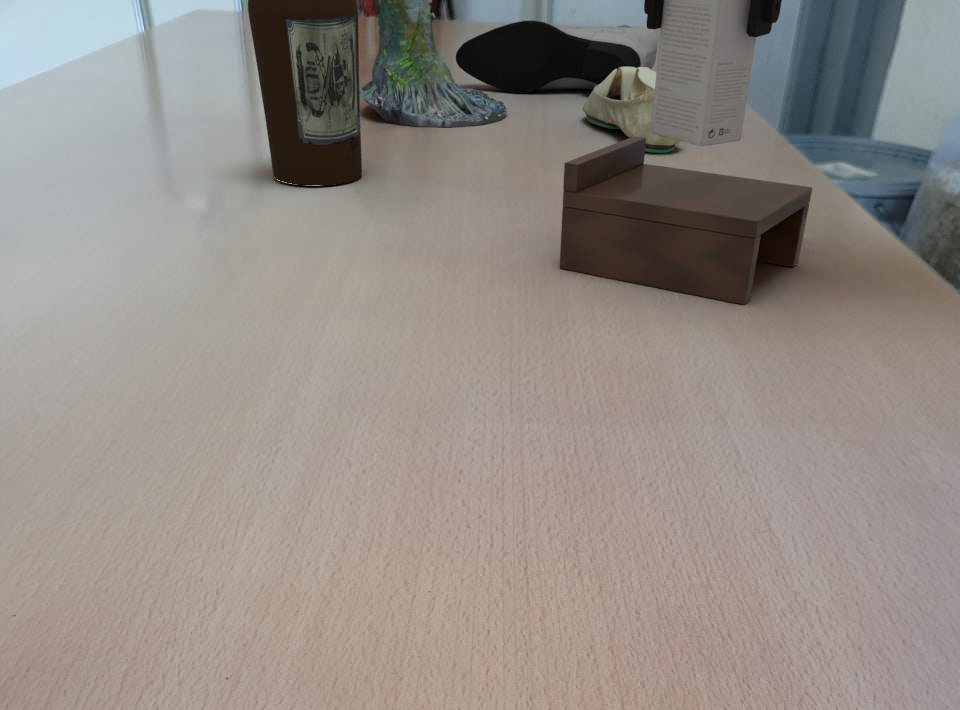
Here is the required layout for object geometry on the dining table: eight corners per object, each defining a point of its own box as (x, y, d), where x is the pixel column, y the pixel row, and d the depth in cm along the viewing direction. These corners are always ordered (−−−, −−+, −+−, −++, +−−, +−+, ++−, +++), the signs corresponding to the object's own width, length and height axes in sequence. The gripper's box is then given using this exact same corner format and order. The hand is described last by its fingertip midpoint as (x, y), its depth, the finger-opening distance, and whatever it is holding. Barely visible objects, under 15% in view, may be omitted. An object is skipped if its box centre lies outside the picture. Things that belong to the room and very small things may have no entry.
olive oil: (252, 173, 108) (215, -117, 93) (339, 161, 113) (318, -117, 97) (294, 194, 101) (261, -117, 86) (386, 180, 106) (370, -117, 90)
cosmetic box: (742, 142, 75) (772, -51, 68) (700, 148, 74) (725, -49, 66) (689, 128, 80) (711, -55, 72) (647, 133, 78) (666, -54, 70)
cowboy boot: (640, 36, 139) (672, 19, 158) (455, 10, 144) (507, -3, 163) (628, 112, 145) (661, 87, 163) (451, 83, 150) (502, 63, 169)
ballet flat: (627, 114, 135) (632, 49, 131) (707, 153, 117) (716, 78, 112) (569, 117, 134) (572, 51, 129) (640, 156, 115) (647, 81, 110)
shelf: (798, 264, 83) (818, 159, 78) (744, 305, 75) (763, 191, 70) (625, 234, 90) (633, 136, 85) (559, 268, 82) (564, 162, 77)
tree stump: (452, 138, 125) (415, -31, 116) (342, 159, 137) (301, 8, 128) (534, 108, 136) (506, -48, 127) (425, 130, 148) (393, -11, 139)
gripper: (908, -308, 60) (842, 34, 71) (647, -289, 68) (623, 18, 79) (873, -325, 55) (808, 46, 66) (595, -302, 63) (577, 28, 74)
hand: (708, 28), depth 72 cm, fingers closed on cosmetic box, 7 cm apart
